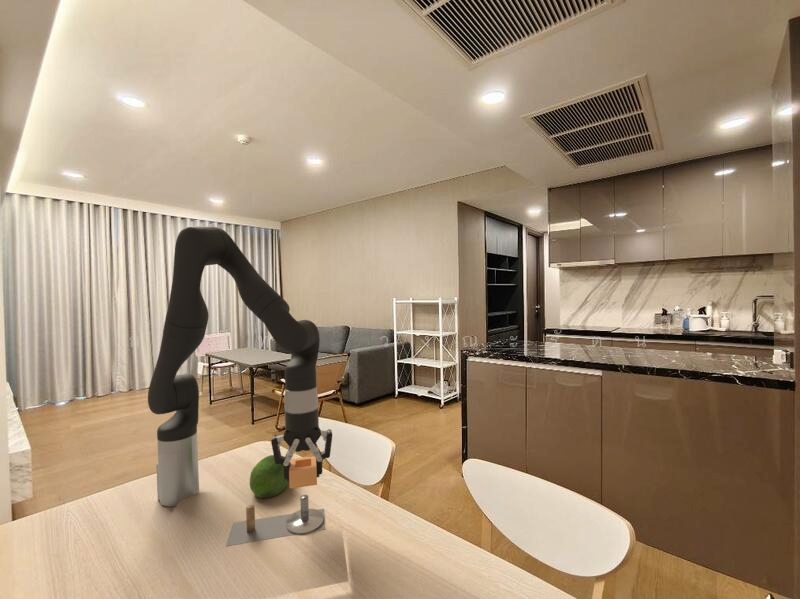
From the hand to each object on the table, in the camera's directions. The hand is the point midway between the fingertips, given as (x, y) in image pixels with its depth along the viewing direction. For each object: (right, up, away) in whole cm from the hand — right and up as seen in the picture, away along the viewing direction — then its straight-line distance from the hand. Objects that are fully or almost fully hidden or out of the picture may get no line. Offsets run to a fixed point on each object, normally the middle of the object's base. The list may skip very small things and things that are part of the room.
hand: (303, 477), depth 86 cm
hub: (0, -11, +1) cm, 11 cm away
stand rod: (-11, -11, -2) cm, 16 cm away
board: (-6, -12, -1) cm, 14 cm away
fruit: (-13, -12, +17) cm, 24 cm away
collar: (0, -1, 0) cm, 1 cm away
